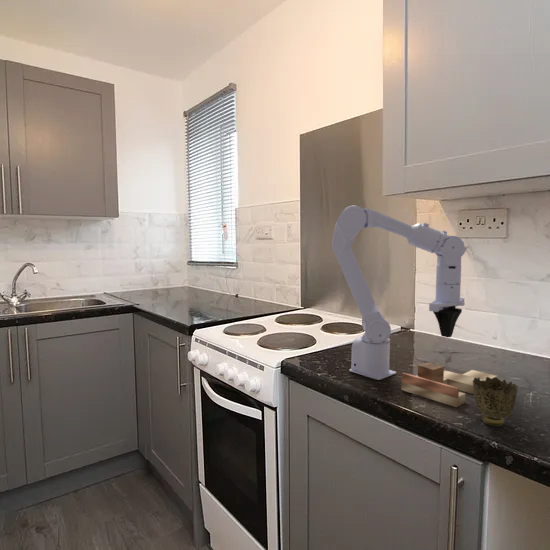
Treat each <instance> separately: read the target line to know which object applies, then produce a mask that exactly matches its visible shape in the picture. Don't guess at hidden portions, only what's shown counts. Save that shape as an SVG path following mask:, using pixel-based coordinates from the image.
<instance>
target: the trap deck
mask: <svg viewBox="0 0 550 550" xmlns="http://www.w3.org/2000/svg"><path fill="white" fill-rule="evenodd" d="M478 377H479V378H480V380H481V381H482V380H484V381H485V380H486V377H489V378H491V379H492V378H494V377H497V378H498V375H495V374H492V373H491V374H490V373H487V372H484V371H483V372H482V371H480V370H479V371H478V370H475V369H471V370H469V371H467V372H464V373H463V374H460V373H456V372H454V371H449V370H444V379H443V383H440V382H436V381H432V380H429V379H425V378H422V377H418V374H417V375H414V374H410V373H407V372H402V373H401V391H404V392H407V393H411V394H413V395H417V396H419V397H422V398H426V399H429V400H433V401H435V402H439V403H442V404H444V405H448V406H451V407H454V408H457V407H460V406H461V405H463V404H464V403H466V393H468V394H471V395H474V388H473V380H474V378H477V379H478Z"/></svg>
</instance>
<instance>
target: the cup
mask: <svg viewBox="0 0 550 550" xmlns="http://www.w3.org/2000/svg"><path fill="white" fill-rule="evenodd" d="M473 388H474V394H473V398H474V403H475V407H476V409H477V411H478V412H479V413H480V414H482V417H481V418H482V421H483V422H484V423H485V424H487V425H489V426H492V427H502V426H503V425H504V423H505V419H507V418H509V417H510V415H511V414H512V413H513V411H514V407H515V403H516V399H517V392H518V385H516V383H513V382H512V381H510V382H507V381H506V379H503V381H501V379H499V378H498V376H497V377H494V378H492V379H491V378H489V377H486V380H485V381H484V380H482V381H481V380H480V378H479V377H478V379H477V378H474V380H473Z"/></svg>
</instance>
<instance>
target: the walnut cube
mask: <svg viewBox="0 0 550 550" xmlns="http://www.w3.org/2000/svg"><path fill="white" fill-rule="evenodd" d="M444 369H445V367H444V366H443V365H439V364H436V363H434V362H430V361H429V362H424V363H421V364H417V375H418V377H422V378H425V379H429V380H432V381H436V382H440V383H443V379H444Z"/></svg>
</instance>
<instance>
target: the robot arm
mask: <svg viewBox="0 0 550 550" xmlns="http://www.w3.org/2000/svg"><path fill="white" fill-rule="evenodd" d="M362 228H363V229H370V228H372V229H373V228H379V229H381V230H383V231H387V232H390V233H393V234H396V235H398V236H401V237H404V238H406V241H407V242H408V244H409V245H410V246H413V247H415V248H418V249H421V250H422V251H423V250H424V251H426V252H427V253H431V254H435V255H436V256H437V257H436V269H435V270H436V274H435V275H436V276H435V278H436V279H435V299H434V300H433V301H432V302H430V303H429V305H428V310H429V312H433V313H432V314H434V316H435V318H436V320H437V323H438V327H439V332H440V334H441V337H445V338H451V337H452V335H453V333H454V330H455V326H456V323H457V320H458V319H459V317H460V315H461V314H462V312H463V311H462V308H459V306H460V307H463V306H465V298H463V297H461V286H462V285H461V283H462V280H461V279H462V257H463V256H464V255H465V252H466V249H467V247H466V246H465V243H464V241H463V240H462V239H461V237H459V236H456V235H448V231H446V230H442V231H440V230H438V229H435V228H433V227H431V226H430V223H426V222H423V223H419V222H417V223H416V224H413V225H411V224H408V223H405V222H404V221H403V222H402V221H401V220H398V219H397V218H396V219H395V218H393V217H392V216H389V215H386V214H384V213H381V212H379V211H376V210H373V209H370V208H365V207H363V208H362V207H361V206H358V205H349V206H347V207H345V208H344V209H343V211H342V212H341V213H340V214H339V217H338V218H337V220H336V222H335V226H334V231H333V237H332V241H331V242H332V243H331V249H332V251H333V253H334V255H335V258H336V260H337V262H338V265H339V267H340V269H341V272H342V274H343V276H344V278H345V281H346V283H347V285H348V287H349V290H350V292H351V295H352V297H353V299H354V301H355V304H356V306H357V309H358V311H359V313H360V315H361V319H362V320H361V327H362V329H363V330H364V333H363V334H362V336H358V337H356V338H355V339H354V340H353V342H352V345H351V366H350V367H351V368H350V369H349V372H350V373H353V374H354V373H355V374H358V375H360V376H361V375H362V376H363V377H367V378H370V379H374V380H378V381H380V380H383V379H386V378H389V377H391V376H393V375H396V374H397V371H395V370H392V369H390V356H391V355H390V348H391V347H390V346H391V345H390V344H391V342H390V341H391V339H390V336H391V333H392V328H391V326H390V323H389V321H387V320H386V319H385V317H384V316H383V314H381V312H380V309H379V308H378V306H377V304H376V301H375V300H374V297H373V295H372V292H371V290H370V288H369V285H368V283H367V281H366V279H365V277H364V274H363V272H362V269H361V267H360V265H359V262H358V261H357V259H356V255H355V254H354V251H353V249H352V245H353V243H354V241H355V239H356V236H357V235H358V233H359V232H360V231H361V229H362ZM457 307H458V308H457Z"/></svg>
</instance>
